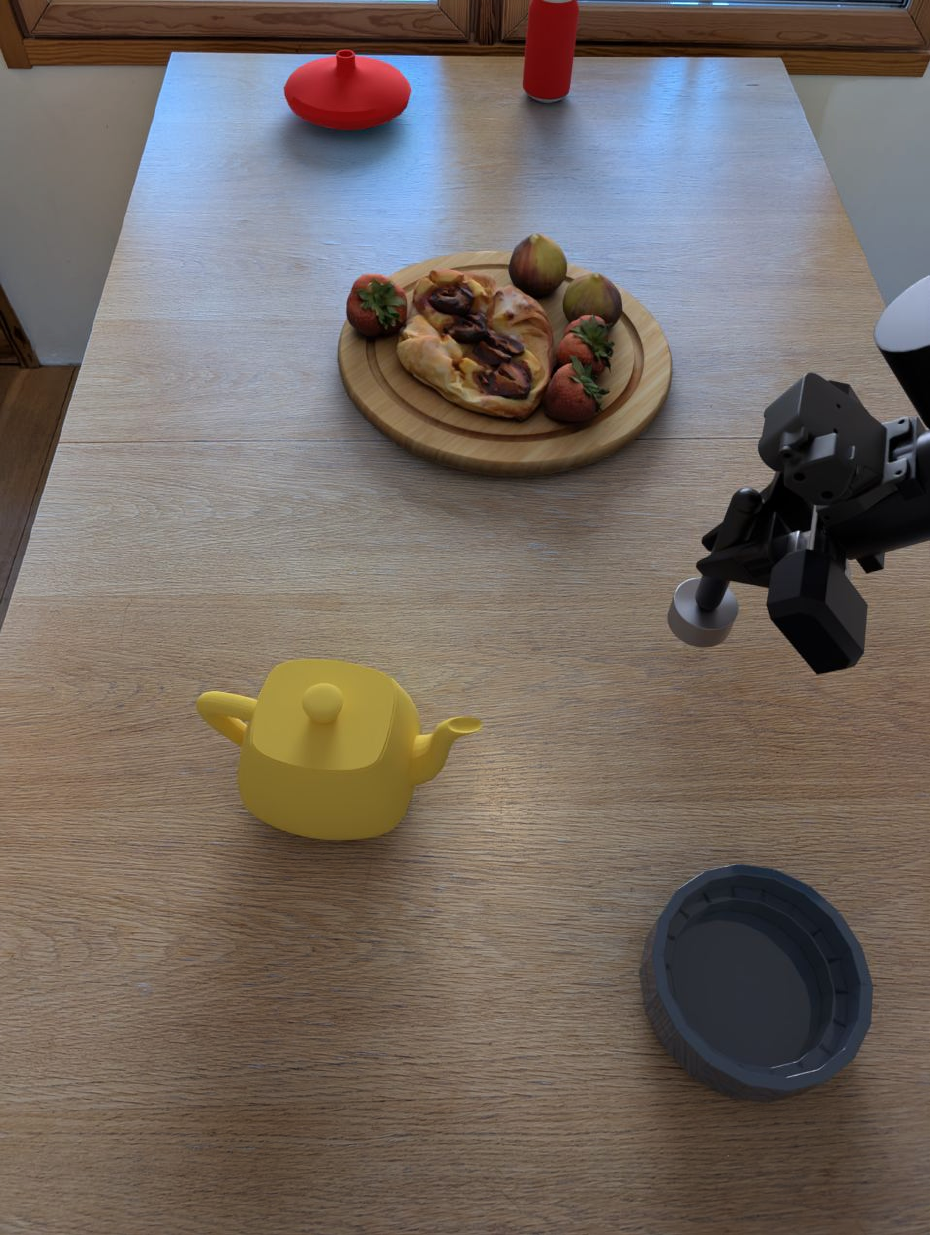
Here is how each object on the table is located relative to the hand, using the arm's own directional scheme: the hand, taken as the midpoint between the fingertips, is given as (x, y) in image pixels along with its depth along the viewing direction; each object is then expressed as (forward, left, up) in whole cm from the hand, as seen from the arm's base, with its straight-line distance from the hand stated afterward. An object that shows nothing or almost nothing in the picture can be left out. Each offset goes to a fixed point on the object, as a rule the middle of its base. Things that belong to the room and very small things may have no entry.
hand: (702, 556), depth 60 cm
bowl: (-9, +22, -13) cm, 27 cm away
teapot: (+19, +16, -14) cm, 28 cm away
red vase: (+53, -70, -14) cm, 89 cm away
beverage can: (+31, -84, -14) cm, 91 cm away
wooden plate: (+21, -30, -14) cm, 39 cm away
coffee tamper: (-1, 0, -7) cm, 7 cm away
